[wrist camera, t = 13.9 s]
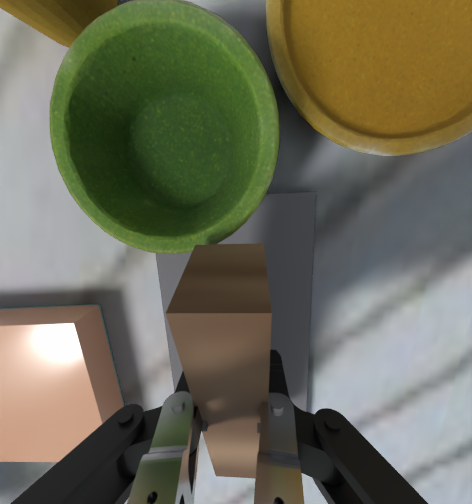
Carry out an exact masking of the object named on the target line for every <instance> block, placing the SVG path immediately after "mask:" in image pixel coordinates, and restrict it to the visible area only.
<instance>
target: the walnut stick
mask: <svg viewBox="0 0 472 504" xmlns="http://www.w3.org/2000/svg"><path fill="white" fill-rule="evenodd" d="M165 314H166V317H167V320H168V323H169V326H170V330H171V333H172V336H173V339H174V343H175V346H176V349H177V352H178V355H179V359H180V362H181V365H182V368H183V372H184V375H185V378H186V381H187V384H188V388H189V391H190V394H191V397H192V400H194V406H198V408H199V412H200V415H201V418H202V420H206V422H207V425H208V430H207V432H206V431H202V433H203V436H204V439H205V442H206V445H207V449H208V452H209V455H210V458H211V462H212V465H213V468H214V471H215V474H216V476H224V477H242V478H256V466H257V454H258V451H259V437H260V433H257V423H260V421H261V405H262V402H268V397H269V372H270V346H271V321H272V311H271V302H270V294H269V285H268V277H267V268H266V260H265V251H264V243H253V244H211V245H195V246H194V249H193V251H192V253H191V256H190V258H189V260H188V263H187V265H186V267H185V269H184V272H183V274H182V276H181V279H180V281H179V283H178V286H177V288H176V290H175V293H174V295H173V297H172V299H171V302H170V304H169V306H168V309H167V311H166V313H165Z"/></svg>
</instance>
